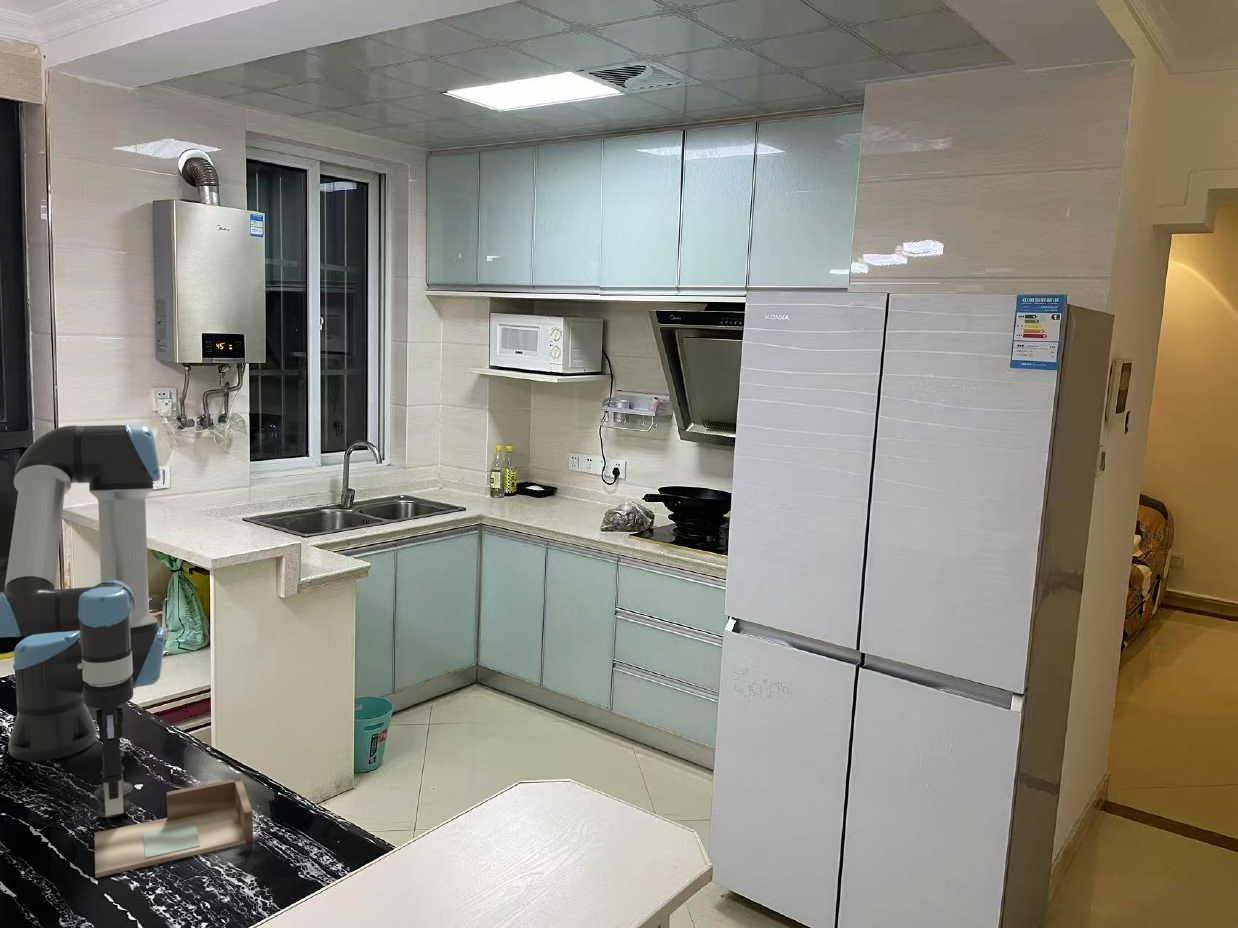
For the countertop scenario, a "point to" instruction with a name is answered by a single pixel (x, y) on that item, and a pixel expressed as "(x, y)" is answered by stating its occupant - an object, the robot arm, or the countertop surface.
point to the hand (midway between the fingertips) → (114, 804)
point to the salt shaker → (101, 796)
